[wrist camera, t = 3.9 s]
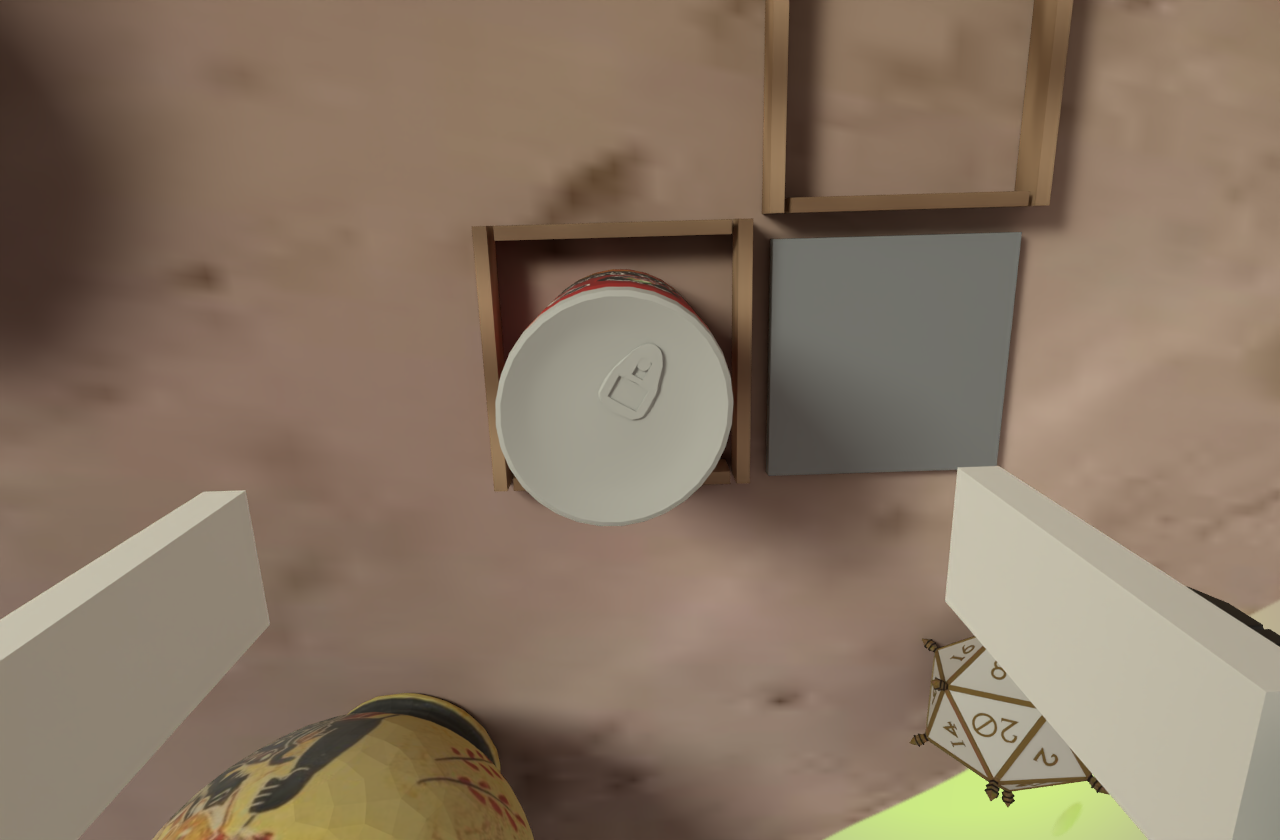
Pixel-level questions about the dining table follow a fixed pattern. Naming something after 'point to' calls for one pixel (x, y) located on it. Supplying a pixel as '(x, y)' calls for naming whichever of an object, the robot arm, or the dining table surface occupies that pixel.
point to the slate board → (888, 351)
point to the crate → (741, 236)
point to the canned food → (614, 401)
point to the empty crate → (1029, 191)
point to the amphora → (363, 782)
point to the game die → (994, 724)
